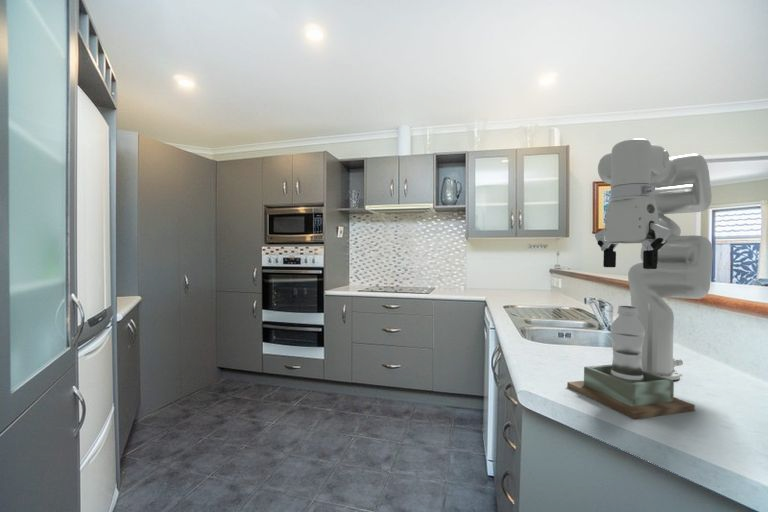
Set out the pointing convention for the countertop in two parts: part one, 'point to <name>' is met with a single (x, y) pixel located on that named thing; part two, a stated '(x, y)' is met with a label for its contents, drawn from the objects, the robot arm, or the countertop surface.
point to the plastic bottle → (627, 345)
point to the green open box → (631, 393)
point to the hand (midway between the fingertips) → (628, 268)
